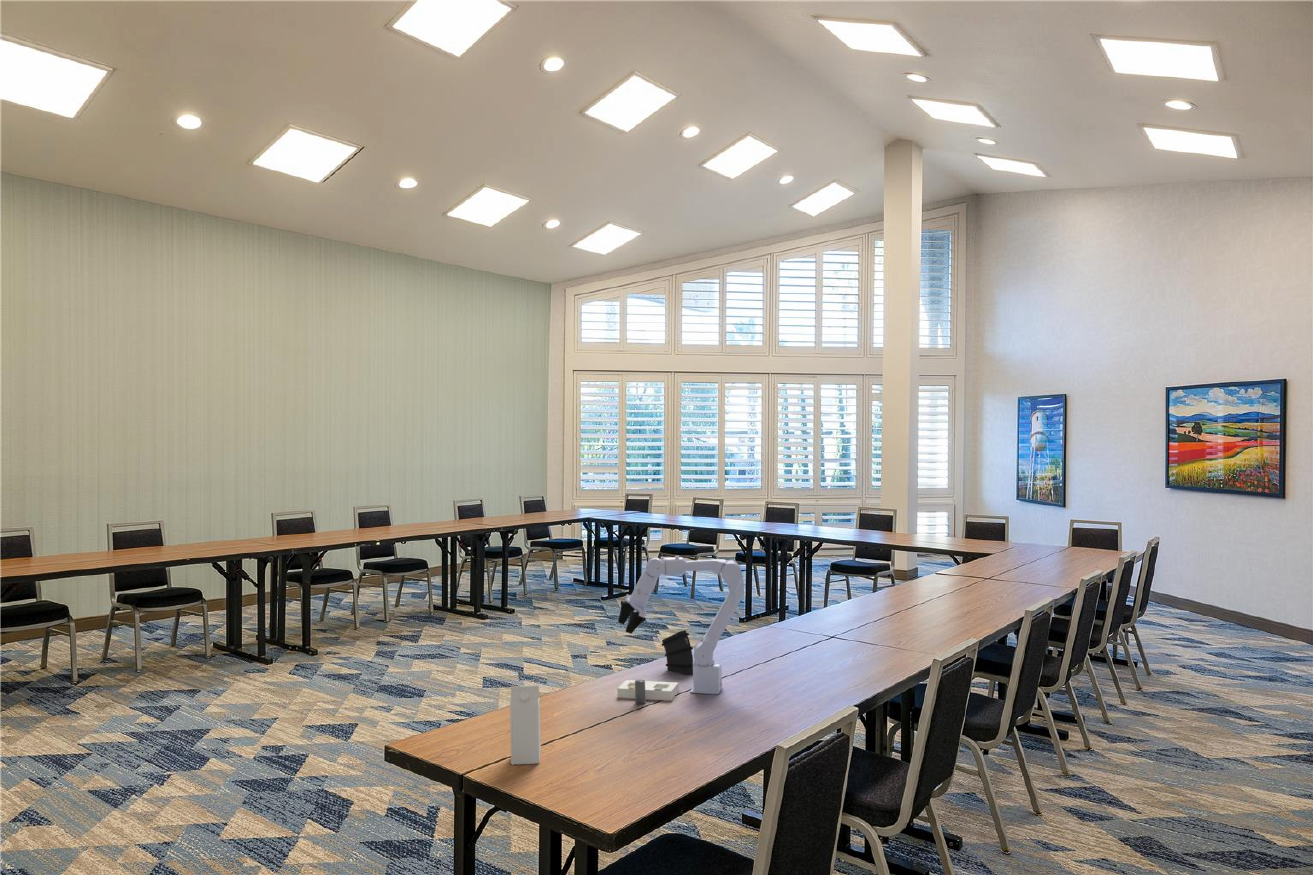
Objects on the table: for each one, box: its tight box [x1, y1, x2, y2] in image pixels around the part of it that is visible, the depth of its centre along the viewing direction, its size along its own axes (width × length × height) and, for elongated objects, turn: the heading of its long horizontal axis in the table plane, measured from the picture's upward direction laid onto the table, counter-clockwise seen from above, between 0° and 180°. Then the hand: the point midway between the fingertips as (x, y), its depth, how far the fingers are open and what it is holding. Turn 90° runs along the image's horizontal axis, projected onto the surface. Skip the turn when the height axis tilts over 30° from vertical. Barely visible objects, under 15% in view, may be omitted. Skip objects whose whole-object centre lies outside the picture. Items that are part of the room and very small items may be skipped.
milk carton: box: [509, 685, 542, 766], centre depth 217 cm, size 7×7×19 cm
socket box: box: [616, 679, 680, 701], centre depth 273 cm, size 18×10×3 cm, turn 75°
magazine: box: [661, 629, 694, 676], centre depth 301 cm, size 4×13×15 cm, turn 44°
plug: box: [634, 679, 646, 706], centre depth 264 cm, size 3×3×7 cm
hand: (624, 627), depth 279 cm, fingers open, 7 cm apart
